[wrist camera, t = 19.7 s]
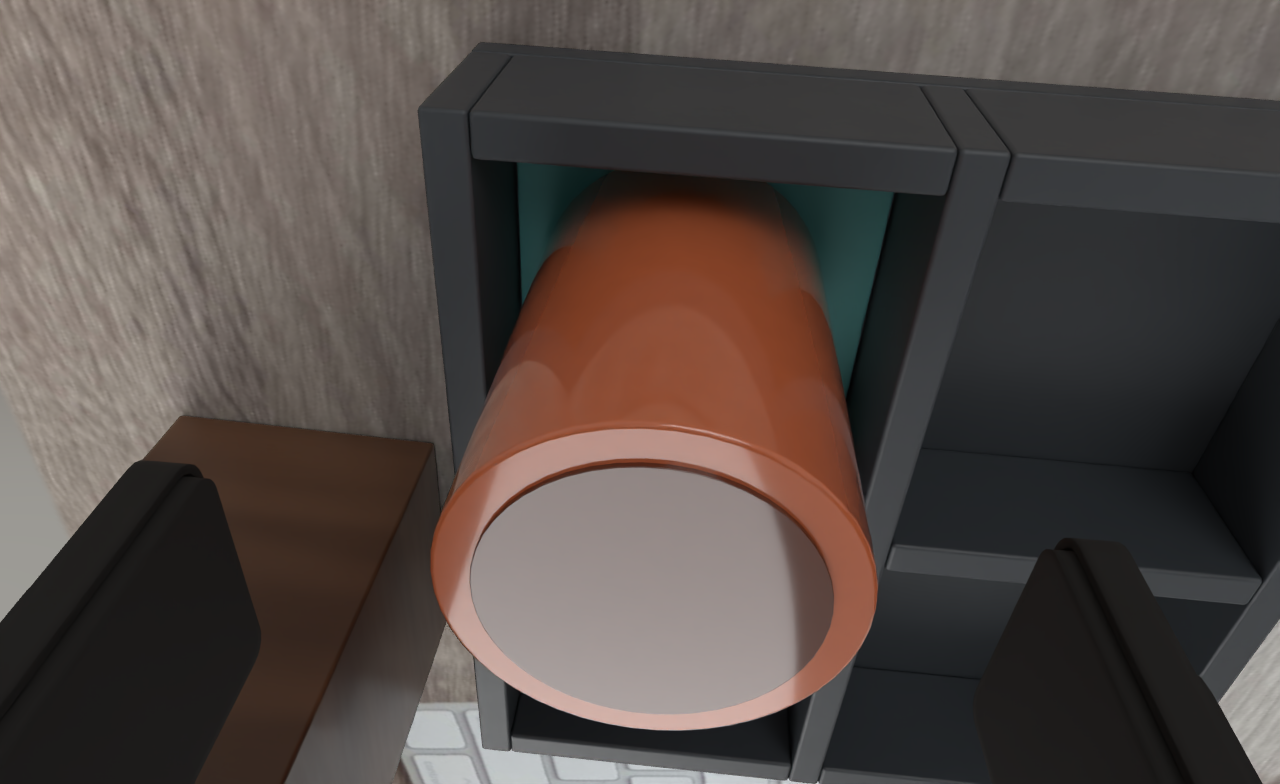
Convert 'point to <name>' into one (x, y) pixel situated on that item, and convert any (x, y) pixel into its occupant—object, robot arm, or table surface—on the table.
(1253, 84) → the table surface
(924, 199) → the divided tray
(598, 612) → the tumbler
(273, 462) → the brown wooden block
